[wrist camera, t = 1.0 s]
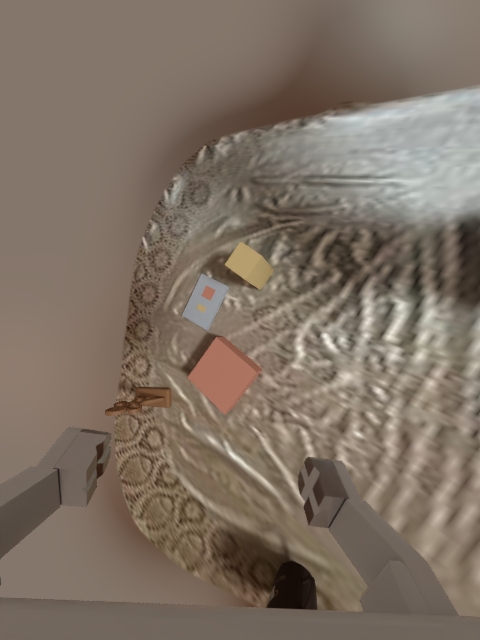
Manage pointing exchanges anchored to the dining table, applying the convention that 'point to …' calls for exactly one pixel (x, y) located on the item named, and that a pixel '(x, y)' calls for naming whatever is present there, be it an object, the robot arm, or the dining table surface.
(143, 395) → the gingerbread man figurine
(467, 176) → the dining table surface
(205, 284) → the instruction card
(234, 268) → the ochre brick
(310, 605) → the coffee mug
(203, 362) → the base brick
